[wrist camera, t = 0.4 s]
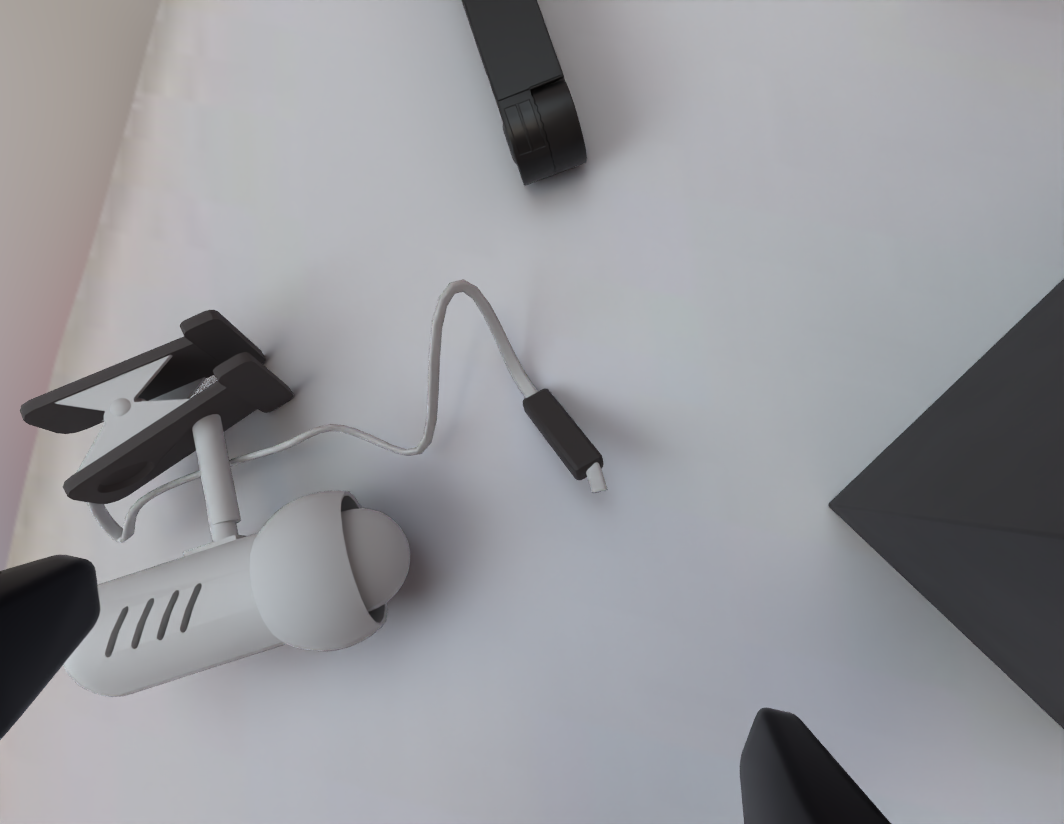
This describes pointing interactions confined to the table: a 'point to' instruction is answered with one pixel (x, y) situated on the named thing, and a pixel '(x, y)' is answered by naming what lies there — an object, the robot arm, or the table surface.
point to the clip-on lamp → (236, 560)
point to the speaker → (985, 504)
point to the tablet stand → (527, 86)
